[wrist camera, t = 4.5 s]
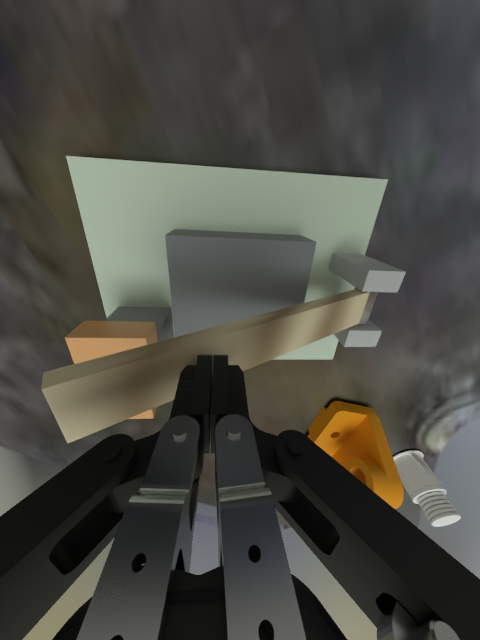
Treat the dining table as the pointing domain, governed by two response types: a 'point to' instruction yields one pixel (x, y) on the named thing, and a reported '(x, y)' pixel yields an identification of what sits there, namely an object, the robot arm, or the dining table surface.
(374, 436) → the bracket
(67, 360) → the dining table surface
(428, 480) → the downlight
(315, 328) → the strap
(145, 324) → the block
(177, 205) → the board
